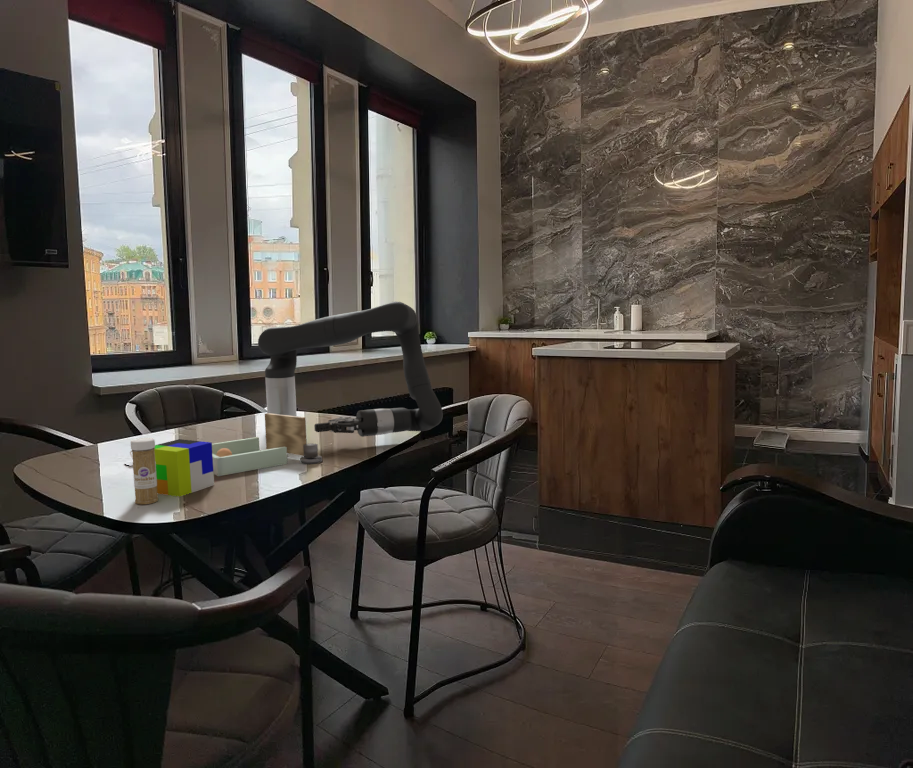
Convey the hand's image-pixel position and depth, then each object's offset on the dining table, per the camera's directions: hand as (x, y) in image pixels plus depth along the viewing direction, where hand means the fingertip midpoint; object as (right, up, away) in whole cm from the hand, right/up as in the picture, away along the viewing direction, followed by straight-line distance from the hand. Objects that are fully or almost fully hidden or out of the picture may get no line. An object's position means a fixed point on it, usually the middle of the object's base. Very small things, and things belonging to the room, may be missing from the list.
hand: (315, 428), depth 186 cm
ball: (-21, -6, -12) cm, 25 cm away
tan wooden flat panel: (-5, -6, -7) cm, 11 cm away
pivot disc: (+1, -8, -11) cm, 14 cm away
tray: (-17, -8, -12) cm, 23 cm away
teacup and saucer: (-42, -9, -12) cm, 45 cm away
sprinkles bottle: (-26, -13, -45) cm, 53 cm away
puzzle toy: (-23, -12, -34) cm, 43 cm away
